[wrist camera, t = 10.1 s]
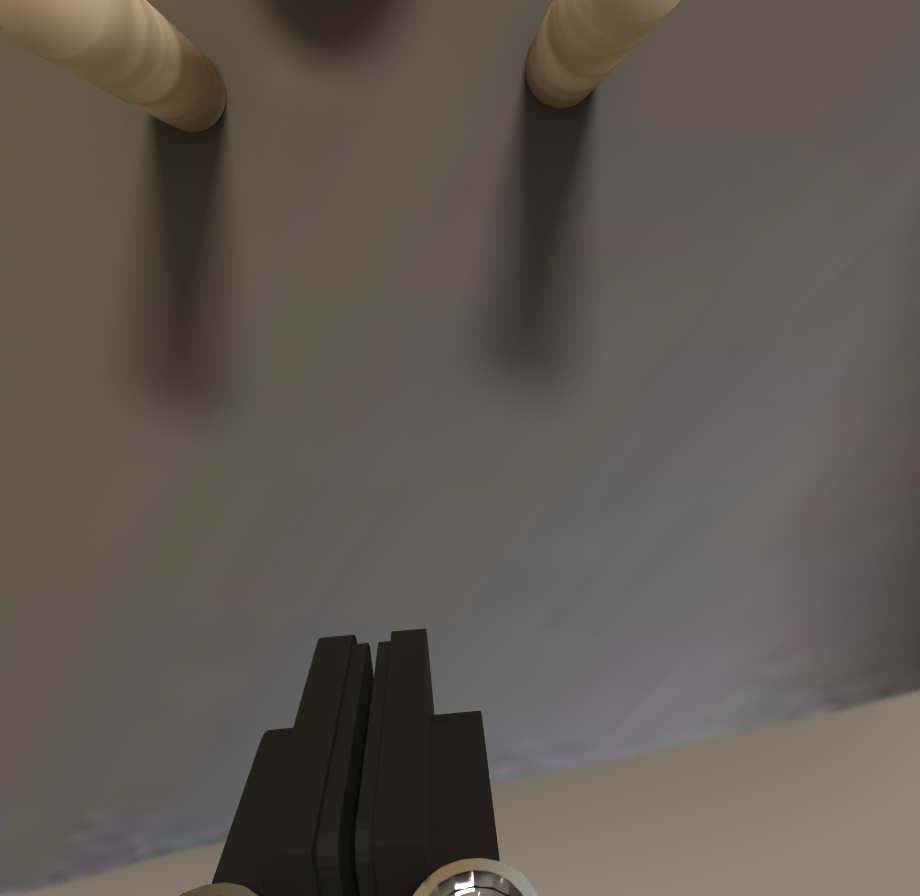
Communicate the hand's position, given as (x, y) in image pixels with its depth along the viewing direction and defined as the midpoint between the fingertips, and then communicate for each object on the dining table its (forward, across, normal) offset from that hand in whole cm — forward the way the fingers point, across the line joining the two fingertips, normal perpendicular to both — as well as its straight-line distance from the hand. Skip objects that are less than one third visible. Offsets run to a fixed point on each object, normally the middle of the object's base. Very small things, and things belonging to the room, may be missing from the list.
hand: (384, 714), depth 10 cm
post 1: (+17, +7, -13) cm, 22 cm away
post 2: (+17, -7, -13) cm, 22 cm away
